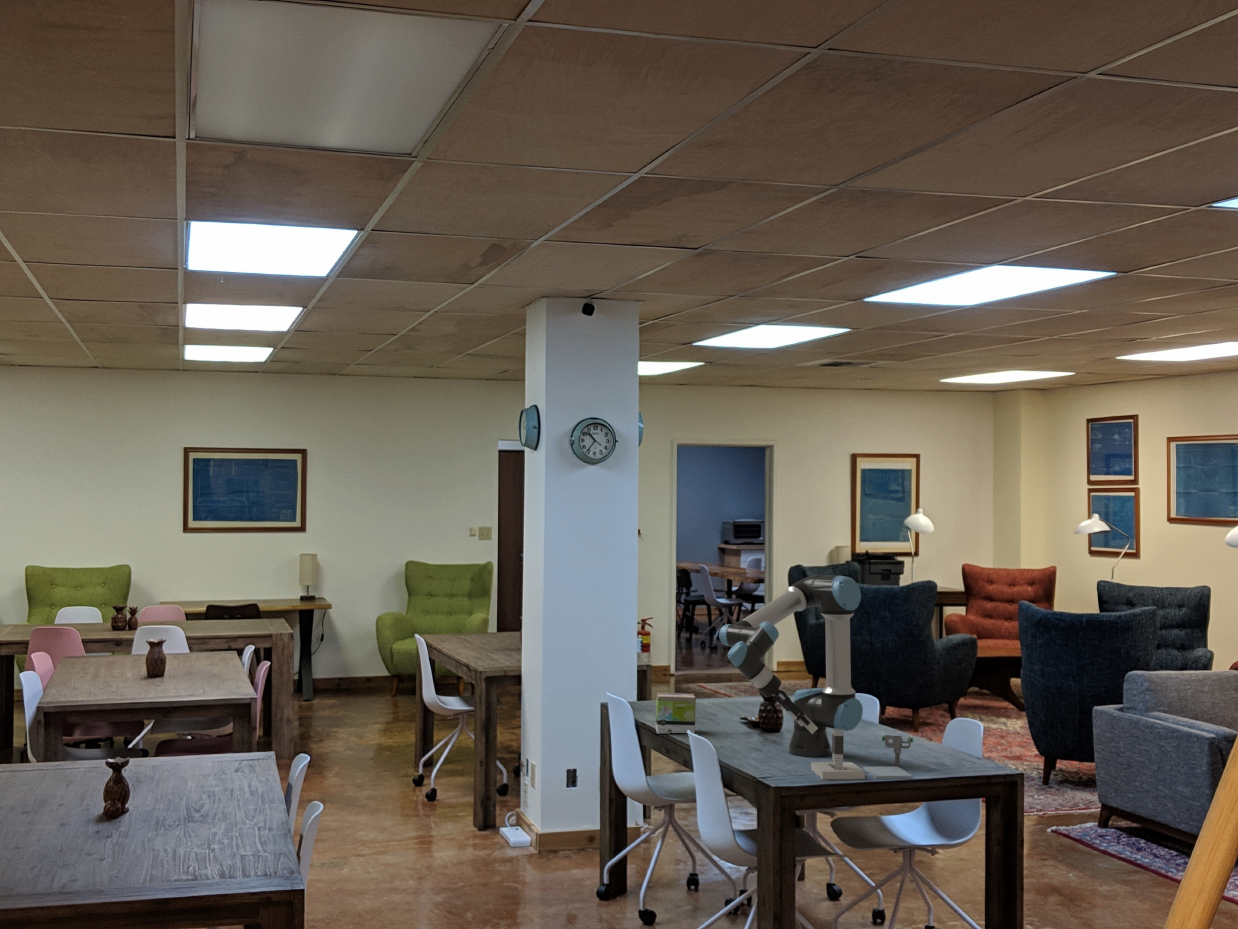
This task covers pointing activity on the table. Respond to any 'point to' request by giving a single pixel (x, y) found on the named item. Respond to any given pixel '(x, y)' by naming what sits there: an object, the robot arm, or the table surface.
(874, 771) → the pad
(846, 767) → the block
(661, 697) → the tea box
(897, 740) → the mechanical component
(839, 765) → the t key
